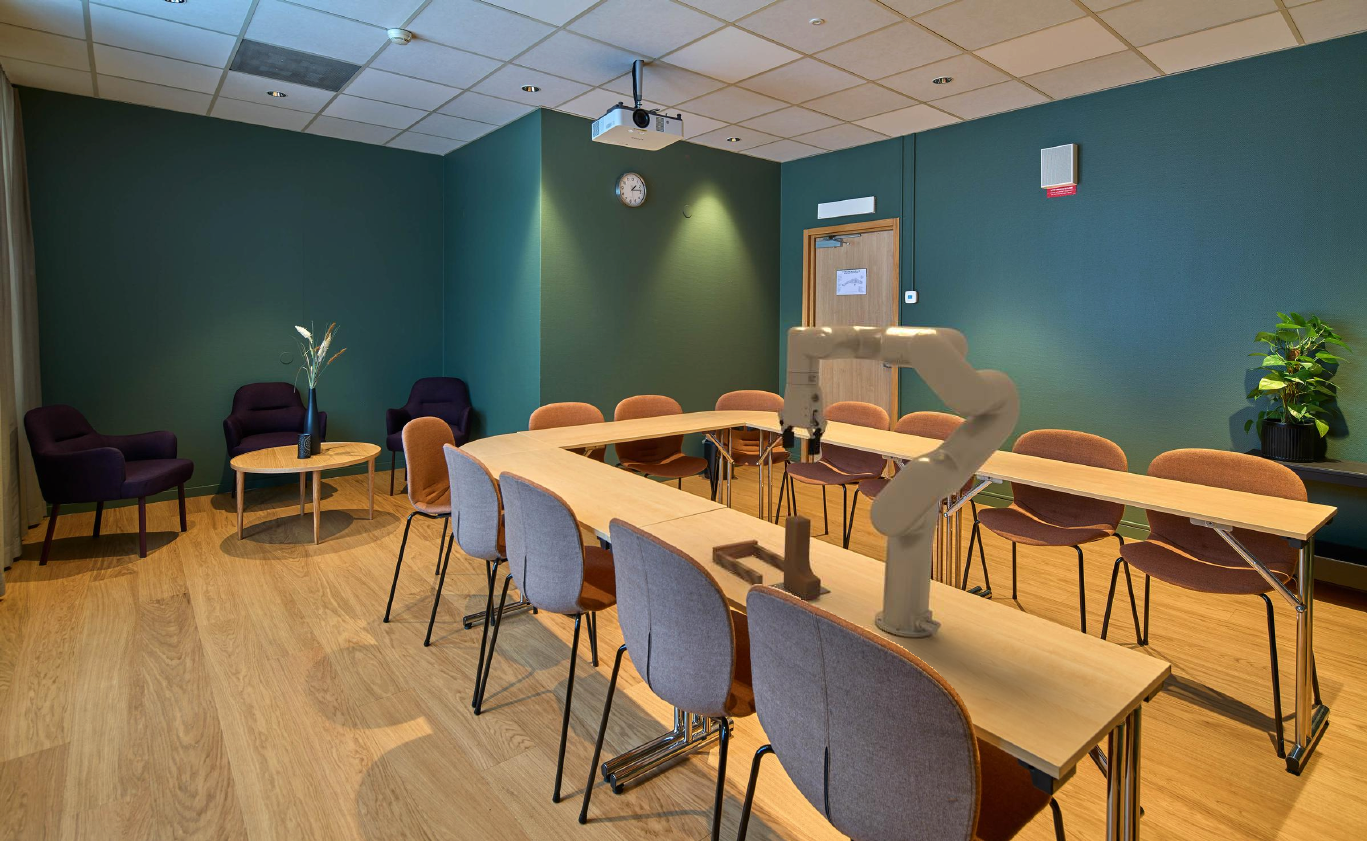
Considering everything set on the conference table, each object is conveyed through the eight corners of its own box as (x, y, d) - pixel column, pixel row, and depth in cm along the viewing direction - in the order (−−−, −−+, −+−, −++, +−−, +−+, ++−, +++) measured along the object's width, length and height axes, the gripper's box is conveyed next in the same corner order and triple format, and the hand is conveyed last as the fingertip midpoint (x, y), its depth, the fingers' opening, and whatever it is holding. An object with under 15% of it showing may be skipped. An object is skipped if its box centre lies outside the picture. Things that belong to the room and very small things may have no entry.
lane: (802, 577, 182) (802, 563, 181) (757, 587, 175) (757, 572, 175) (754, 553, 201) (754, 539, 200) (712, 561, 194) (712, 547, 193)
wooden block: (820, 597, 169) (823, 524, 166) (805, 600, 167) (808, 526, 164) (797, 584, 176) (799, 514, 174) (782, 587, 174) (784, 517, 172)
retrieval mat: (830, 592, 173) (830, 590, 172) (784, 603, 166) (784, 601, 166) (804, 579, 181) (804, 577, 181) (759, 588, 174) (759, 587, 174)
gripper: (840, 381, 160) (837, 456, 163) (792, 376, 175) (790, 444, 177) (814, 383, 156) (811, 459, 159) (768, 377, 171) (766, 446, 174)
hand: (800, 451), depth 168 cm, fingers open, 9 cm apart
